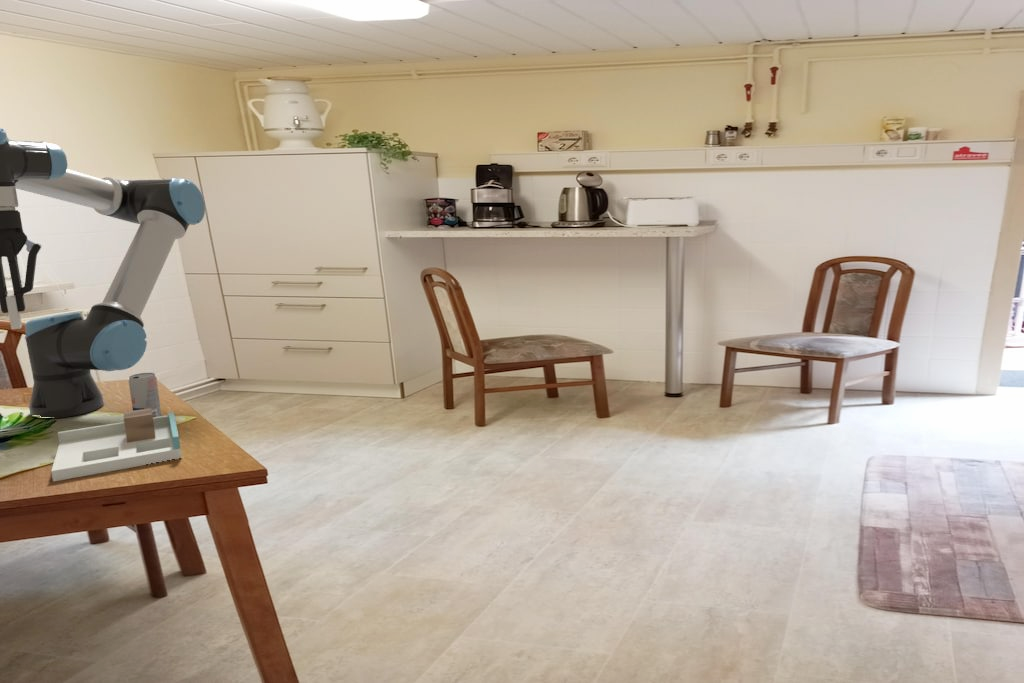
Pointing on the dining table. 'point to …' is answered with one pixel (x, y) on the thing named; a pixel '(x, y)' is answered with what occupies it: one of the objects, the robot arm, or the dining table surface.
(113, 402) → the dining table surface
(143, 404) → the energy drink
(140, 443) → the board
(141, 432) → the walnut block
